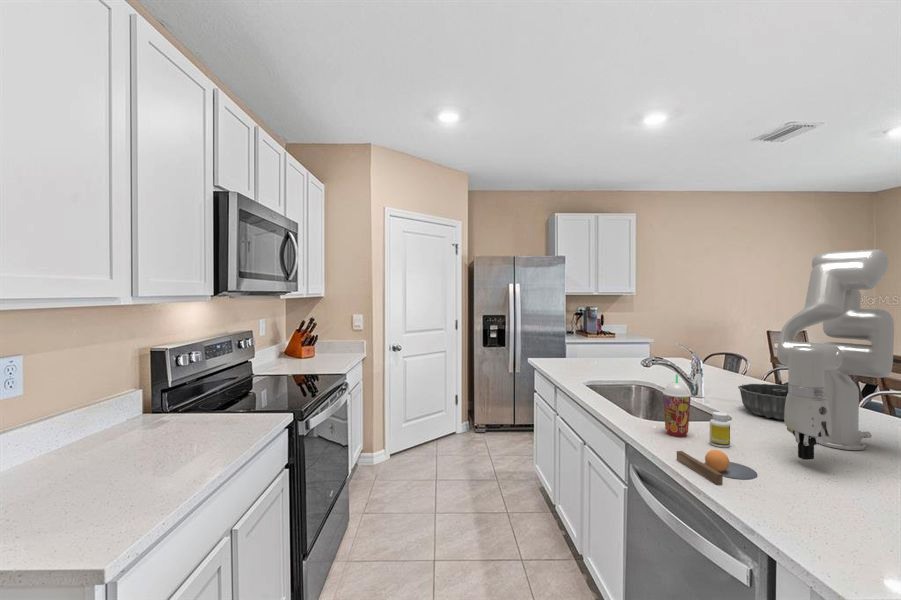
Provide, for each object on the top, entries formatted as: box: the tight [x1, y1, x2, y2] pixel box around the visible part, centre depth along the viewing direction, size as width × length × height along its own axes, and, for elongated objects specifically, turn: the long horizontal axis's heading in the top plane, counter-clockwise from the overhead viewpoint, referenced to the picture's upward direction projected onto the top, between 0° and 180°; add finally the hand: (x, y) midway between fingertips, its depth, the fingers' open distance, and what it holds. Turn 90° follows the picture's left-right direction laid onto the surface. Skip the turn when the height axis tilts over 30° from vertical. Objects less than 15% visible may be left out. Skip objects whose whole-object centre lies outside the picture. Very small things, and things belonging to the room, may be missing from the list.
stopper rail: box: [676, 450, 723, 486], centre depth 114 cm, size 2×16×2 cm, turn 5°
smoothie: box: [662, 374, 692, 438], centre depth 144 cm, size 8×8×20 cm
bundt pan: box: [737, 383, 788, 421], centre depth 166 cm, size 26×26×10 cm
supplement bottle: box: [709, 411, 731, 448], centre depth 134 cm, size 5×5×10 cm
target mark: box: [704, 461, 758, 481], centre depth 115 cm, size 12×12×1 cm
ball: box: [704, 449, 730, 472], centre depth 114 cm, size 6×6×6 cm
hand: (806, 458), depth 117 cm, fingers closed
